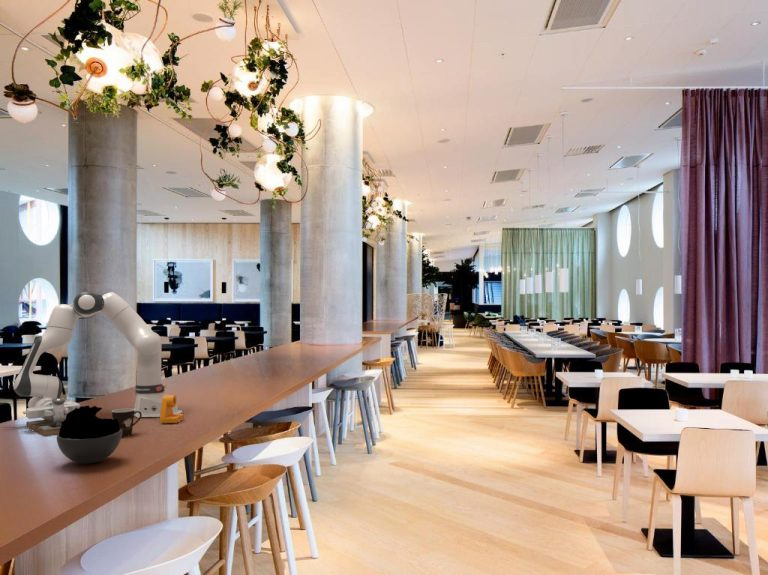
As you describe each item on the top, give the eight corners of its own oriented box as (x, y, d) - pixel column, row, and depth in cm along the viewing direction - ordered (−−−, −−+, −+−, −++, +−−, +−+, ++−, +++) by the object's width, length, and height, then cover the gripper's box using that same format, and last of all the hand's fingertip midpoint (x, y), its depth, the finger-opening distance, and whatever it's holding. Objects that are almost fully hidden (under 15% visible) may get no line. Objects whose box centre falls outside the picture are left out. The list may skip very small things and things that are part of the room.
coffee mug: (112, 438, 246) (112, 413, 246) (110, 434, 253) (110, 409, 254) (143, 435, 251) (143, 410, 251) (141, 431, 259) (141, 407, 259)
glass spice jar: (68, 425, 261) (68, 398, 261) (59, 427, 256) (60, 400, 256) (57, 424, 262) (57, 397, 262) (49, 427, 257) (49, 399, 257)
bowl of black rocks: (92, 453, 223) (92, 400, 223) (135, 458, 215) (135, 403, 215) (42, 467, 204) (42, 409, 205) (87, 473, 197) (87, 414, 197)
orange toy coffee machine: (176, 424, 273) (176, 397, 273) (159, 424, 273) (159, 397, 273) (184, 419, 283) (184, 393, 284) (168, 419, 283) (168, 393, 284)
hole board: (26, 427, 267) (26, 421, 267) (61, 422, 277) (61, 416, 277) (44, 436, 250) (44, 429, 250) (81, 431, 260) (81, 424, 260)
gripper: (21, 404, 261) (31, 408, 251) (73, 398, 275) (84, 402, 265) (21, 419, 260) (31, 424, 251) (73, 413, 275) (84, 417, 265)
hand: (59, 413), depth 258 cm, fingers closed on glass spice jar, 4 cm apart
